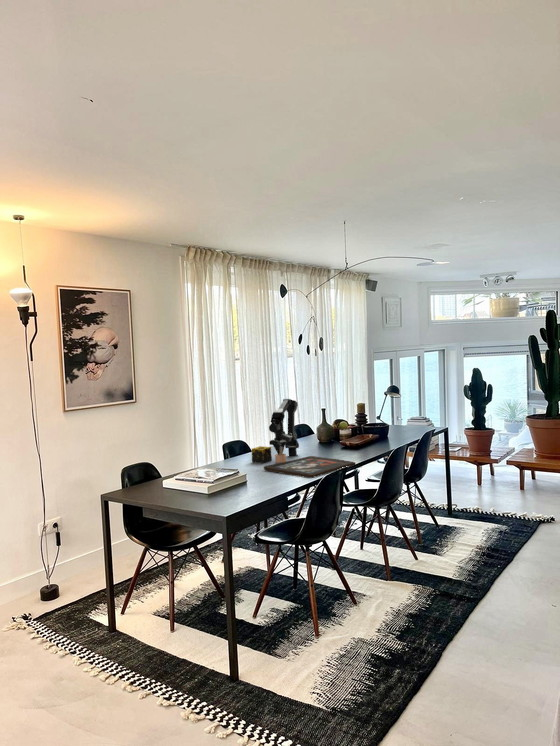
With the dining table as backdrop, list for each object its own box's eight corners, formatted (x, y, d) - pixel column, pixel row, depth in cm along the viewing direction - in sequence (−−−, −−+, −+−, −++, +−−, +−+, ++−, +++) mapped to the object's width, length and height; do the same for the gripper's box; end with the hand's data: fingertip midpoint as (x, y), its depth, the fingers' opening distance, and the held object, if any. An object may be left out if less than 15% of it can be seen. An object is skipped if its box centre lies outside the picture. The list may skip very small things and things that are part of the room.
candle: (260, 460, 385) (259, 446, 385) (272, 461, 379) (271, 446, 379) (251, 463, 377) (250, 448, 376) (263, 464, 371) (262, 449, 370)
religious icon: (261, 471, 349) (261, 466, 349) (309, 459, 381) (309, 455, 381) (309, 479, 320) (309, 474, 320) (356, 466, 352) (356, 461, 352)
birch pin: (280, 461, 374) (279, 446, 374) (283, 461, 373) (283, 446, 373) (277, 462, 372) (277, 447, 371) (281, 462, 370) (281, 447, 370)
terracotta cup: (278, 461, 377) (278, 453, 377) (288, 461, 374) (287, 453, 374) (273, 463, 371) (273, 455, 371) (283, 463, 368) (282, 455, 367)
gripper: (283, 432, 360) (284, 456, 360) (296, 428, 376) (297, 451, 377) (268, 432, 365) (269, 455, 365) (281, 428, 381) (282, 450, 382)
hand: (280, 453), depth 372 cm, fingers open, 5 cm apart
